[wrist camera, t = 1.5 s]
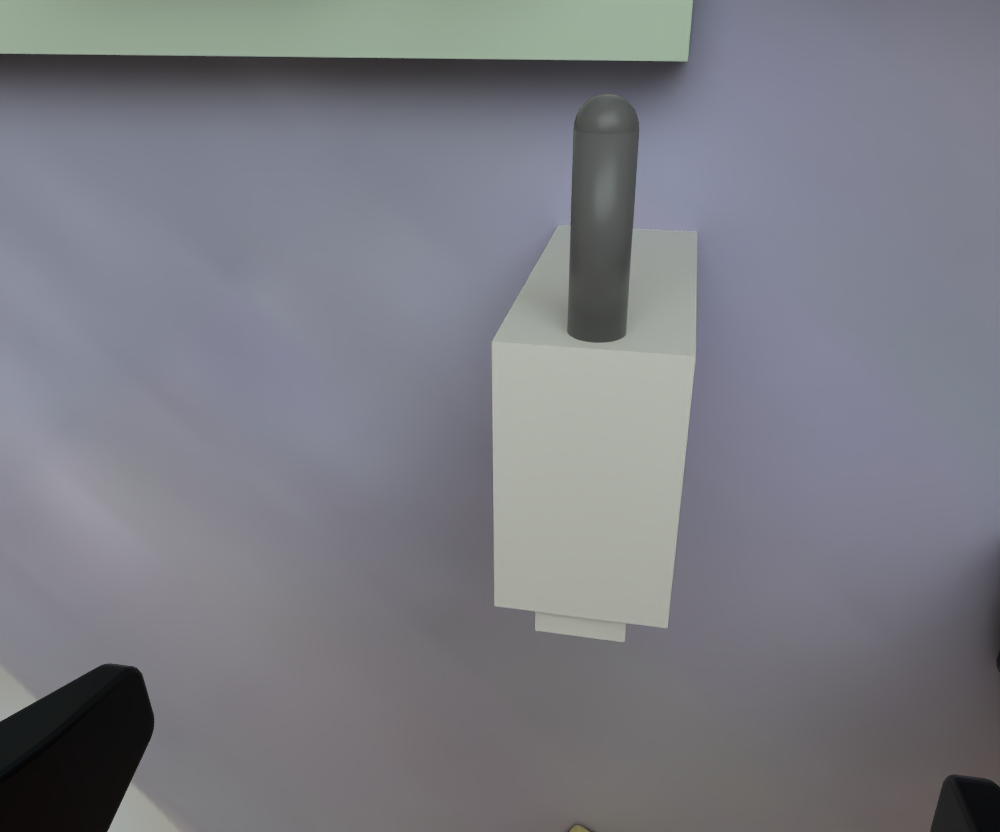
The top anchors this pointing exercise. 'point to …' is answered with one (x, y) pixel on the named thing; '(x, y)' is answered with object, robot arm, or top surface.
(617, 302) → the plug
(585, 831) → the candy box
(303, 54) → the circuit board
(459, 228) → the top surface
